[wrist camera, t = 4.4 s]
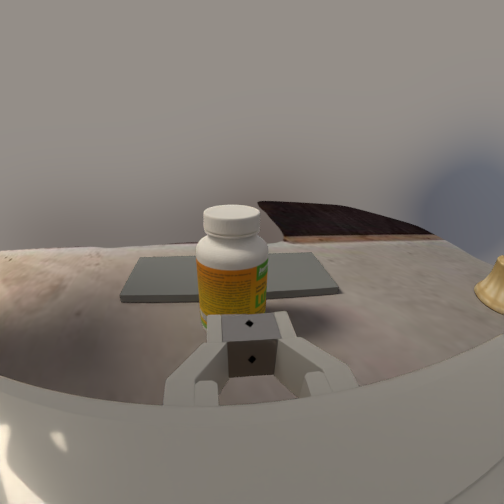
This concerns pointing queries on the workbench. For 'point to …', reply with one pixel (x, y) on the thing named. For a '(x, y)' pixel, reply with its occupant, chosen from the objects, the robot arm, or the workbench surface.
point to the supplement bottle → (231, 263)
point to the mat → (186, 282)
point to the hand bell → (493, 287)
